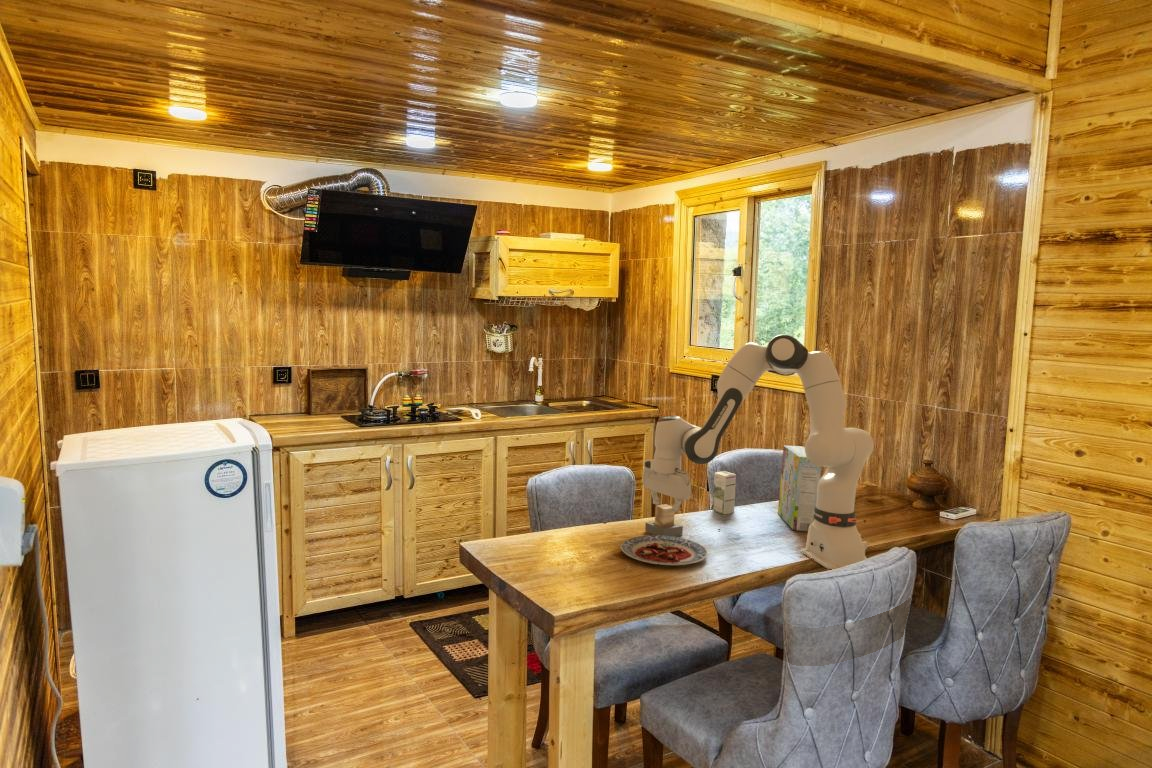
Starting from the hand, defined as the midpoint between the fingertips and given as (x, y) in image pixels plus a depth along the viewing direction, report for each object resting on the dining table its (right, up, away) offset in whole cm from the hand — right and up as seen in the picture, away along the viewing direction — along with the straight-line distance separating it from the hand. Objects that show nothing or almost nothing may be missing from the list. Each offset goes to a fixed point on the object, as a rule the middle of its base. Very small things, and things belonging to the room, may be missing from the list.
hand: (665, 507), depth 242 cm
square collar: (0, -9, +2) cm, 9 cm away
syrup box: (+25, -7, +29) cm, 39 cm away
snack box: (+48, -9, +19) cm, 53 cm away
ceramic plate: (-3, -12, -19) cm, 23 cm away
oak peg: (0, -9, +2) cm, 9 cm away
